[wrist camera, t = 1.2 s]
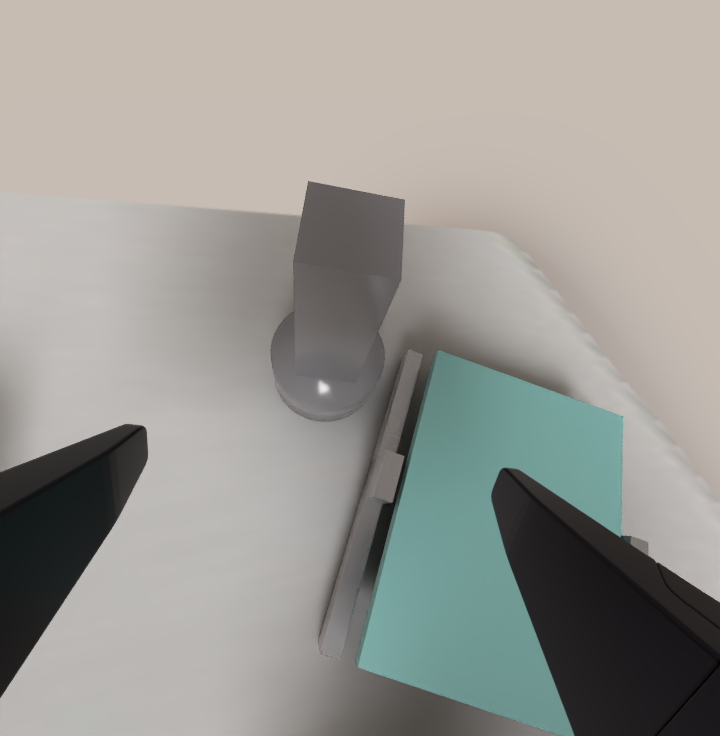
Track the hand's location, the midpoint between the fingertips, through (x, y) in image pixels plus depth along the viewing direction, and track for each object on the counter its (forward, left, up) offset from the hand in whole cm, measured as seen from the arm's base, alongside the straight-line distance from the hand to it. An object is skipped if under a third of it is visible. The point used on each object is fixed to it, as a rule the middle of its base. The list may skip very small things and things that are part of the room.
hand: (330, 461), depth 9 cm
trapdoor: (+4, -10, -11) cm, 16 cm away
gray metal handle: (+7, +3, -13) cm, 15 cm away
